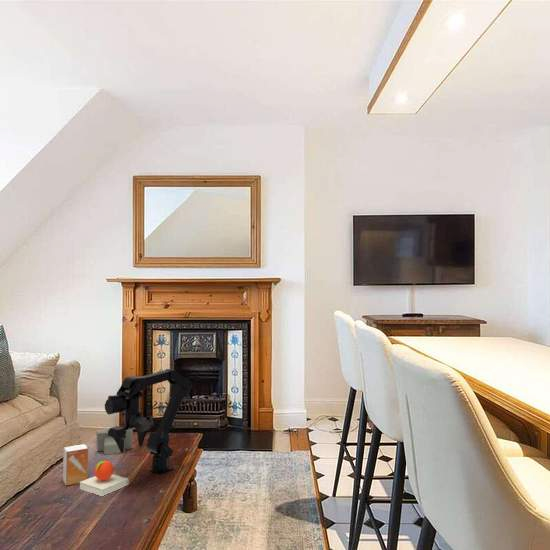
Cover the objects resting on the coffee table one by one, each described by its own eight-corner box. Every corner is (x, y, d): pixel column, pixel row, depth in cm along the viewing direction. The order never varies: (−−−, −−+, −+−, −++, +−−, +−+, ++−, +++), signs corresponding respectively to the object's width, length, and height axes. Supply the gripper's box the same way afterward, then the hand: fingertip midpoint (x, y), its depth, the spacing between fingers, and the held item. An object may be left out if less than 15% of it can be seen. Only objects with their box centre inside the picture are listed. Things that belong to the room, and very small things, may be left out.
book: (105, 479, 191) (105, 471, 191) (128, 486, 184) (128, 478, 184) (79, 490, 181) (79, 482, 181) (102, 498, 174) (102, 489, 174)
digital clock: (134, 448, 228) (134, 425, 228) (129, 454, 219) (130, 430, 219) (99, 448, 227) (99, 425, 227) (93, 455, 218) (93, 431, 218)
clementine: (105, 483, 177) (104, 463, 178) (88, 483, 179) (88, 463, 180) (117, 476, 185) (116, 457, 186) (101, 476, 187) (101, 457, 187)
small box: (65, 486, 183) (66, 451, 184) (62, 480, 189) (63, 447, 189) (88, 481, 188) (88, 447, 188) (84, 476, 193) (84, 443, 194)
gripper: (127, 417, 178) (126, 460, 177) (164, 407, 194) (163, 446, 193) (107, 413, 184) (106, 455, 183) (144, 403, 199) (143, 441, 199)
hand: (131, 449), depth 189 cm, fingers open, 9 cm apart
